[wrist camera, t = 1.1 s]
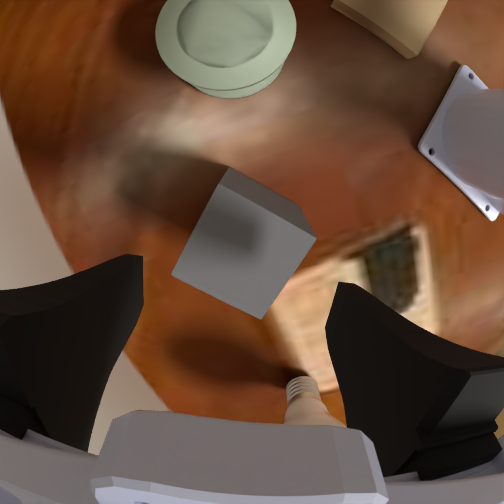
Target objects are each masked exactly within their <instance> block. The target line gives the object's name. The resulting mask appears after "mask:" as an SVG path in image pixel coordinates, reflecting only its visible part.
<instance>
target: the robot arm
mask: <svg viewBox="0 0 504 504" xmlns="http://www.w3.org/2000/svg"><path fill="white" fill-rule="evenodd" d="M469 75H470V76H471V79H470V78H469ZM430 148H431V149H432V153H431V155H430V154H429V149H430ZM418 149H419V151H420V153H422V154H423V155H424V156H425V157H426V158H427V159H428V160H430V161H431V162H432V163H433V164H434V165H435V166H436V167H437V168H438V169H439V170H441V171H442V172H443V173H444V174H445V175H446V176H447V177H448V178H449V179H450V180H451V181H452V182H453V183H454V184H455V185H456V186H457V187H458V188H459V189H460V190H461V191H462V192H463V193H464V194H465V195H466V196H467V197H468V198H469V199H470V200H471V201H472V202H473V203H474V204H475V205H476V206H477V207H478V208H479V209H480V210H481V212H482V213H483V214H484V215H485V216H486V217H487V218H488V219H489V220H491V221H494V220H495V219H496V218H497V216H498V214H499V212H500V213H502V214H504V89H488V88H487V86H486V85H485V84H484V83H483V82H482V81H481V80H480V79H479V78H478V76H477V75H476V74H475V73H474V72H473V71H472V70H471V69H470V68H469V67H468V66H466V65H462V66H460V67H459V69H458V71H457V73H456V75H455V77H454V79H453V81H452V83H451V85H450V87H449V89H448V91H447V93H446V95H445V96H444V98H443V100H442V102H441V104H440V106H439V108H438V109H437V111H436V113H435V115H434V117H433V119H432V120H431V122H430V124H429V126H428V128H427V129H426V131H425V133H424V135H423V136H422V138H421V140H420V142H419V144H418ZM486 206H487V208H486ZM485 208H486V210H485ZM143 305H144V298H143V256H138V255H132V254H125V255H122V256H119V257H116V258H113V259H111V260H108V261H106V262H104V263H101V264H99V265H96V266H94V267H92V268H89V269H87V270H84V271H81V272H79V273H76V274H73V275H71V276H68V277H65V278H62V279H59V280H55V281H52V282H48V283H44V284H40V285H34V286H29V287H24V288H18V289H9V290H0V504H504V435H502V436H501V437H500V438H498V439H497V438H496V436H495V434H494V433H493V432H496V430H497V429H498V425H497V424H496V422H495V419H496V417H497V416H498V415H499V413H500V412H501V411H502V409H503V408H504V357H500V356H495V355H491V354H487V353H482V352H479V351H476V350H472V349H469V348H466V347H463V346H460V345H458V344H455V343H453V342H450V341H448V340H446V339H443V338H441V337H439V336H437V335H434V334H432V333H430V332H429V331H427V330H425V329H423V328H421V327H419V326H417V325H416V324H414V323H412V322H411V321H409V320H408V319H406V318H404V317H403V316H401V315H400V314H398V313H397V312H395V311H394V310H392V309H391V308H390V307H388V306H387V305H385V304H384V303H383V302H381V301H380V300H378V299H377V298H376V297H374V296H373V295H371V294H370V293H369V292H367V291H366V290H364V289H363V288H361V287H360V286H358V285H356V284H354V283H345V282H338V286H337V289H336V293H335V296H334V299H333V303H332V306H331V309H330V313H329V316H328V319H327V322H326V326H325V331H326V339H327V345H328V350H329V354H330V357H331V361H332V364H333V367H334V371H335V374H336V377H337V381H338V384H339V388H340V391H341V394H342V399H343V403H344V409H345V416H346V423H347V428H344V427H337V426H331V425H289V424H269V423H255V422H244V421H233V420H224V419H216V418H208V417H201V416H195V415H188V414H182V413H176V412H171V411H148V410H147V411H146V410H135V411H131V412H129V413H127V414H125V415H122V416H120V417H117V418H115V419H113V420H112V422H111V425H110V427H109V430H108V433H107V435H106V438H105V441H104V443H103V446H102V448H101V451H100V454H99V455H94V454H91V453H88V447H89V442H90V438H91V433H92V429H93V426H94V422H95V418H96V414H97V411H98V408H99V405H100V401H101V398H102V395H103V392H104V389H105V386H106V384H107V381H108V378H109V375H110V373H111V371H112V369H113V367H114V365H115V363H116V361H117V359H118V357H119V355H120V354H121V352H122V350H123V348H124V346H125V344H126V343H127V341H128V339H129V337H130V335H131V333H132V331H133V330H134V328H135V326H136V324H137V321H138V318H139V316H140V313H141V310H142V307H143Z"/></svg>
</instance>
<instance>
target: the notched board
mask: <svg viewBox="0 0 504 504" xmlns="http://www.w3.org/2000/svg"><path fill="white" fill-rule="evenodd" d="M447 1H448V0H334V1H333V2H332V4H331V5H330V7H332V8H334V9H335V10H337V11H339V12H340V13H342V14H344V15H345V16H347V17H348V18H350V19H352V20H353V21H355V22H356V23H358V24H359V25H361V26H362V27H364V28H365V29H367V30H368V31H370V32H371V33H373V34H374V35H376V36H377V37H378V38H380V39H381V40H383V41H384V42H385V43H387V44H388V45H389V46H391V47H392V48H393V49H395V50H396V51H397V52H399V53H400V54H401V55H402V56H404V57H405V58H406V59H410V58H413V57H416V56H418V54H419V53H420V51H421V49H422V47H423V45H424V44H425V42H426V40H427V38H428V36H429V35H430V33H431V31H432V29H433V27H434V25H435V24H436V22H437V20H438V18H439V16H440V14H441V12H442V11H443V9H444V7H445V5H446V3H447Z"/></svg>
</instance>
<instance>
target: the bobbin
mask: <svg viewBox="0 0 504 504" xmlns="http://www.w3.org/2000/svg"><path fill="white" fill-rule="evenodd" d="M155 35H156V44H157V48H158V51H159V54H160V56H161V58H162V59H163V61H164V62H165V64H166V65H167V66H168V68H169V69H170V70H172V71H173V72H174V73H175V74H176V75H178V76H179V77H180V78H182V79H183V80H185V81H187V82H189V83H190V84H192V85H193V86H194V87H196V88H197V89H199V90H200V91H202V92H204V93H206V94H208V95H210V96H214V97H217V98H224V99H237V98H243V97H247V96H250V95H253V94H255V93H258V92H260V91H261V90H263V89H264V88H266V87H267V86H268V85H270V84H271V83H272V82H273V81H274V80H275V78H276V77H277V76H278V74H279V73H280V71H281V69H282V67H283V65H284V62H285V60H286V58H287V56H288V54H289V53H290V51H291V49H292V46H293V43H294V40H295V35H296V18H295V14H294V10H293V8H292V6H291V4H290V2H289V0H167V2H166V3H165V4H164V6H163V8H162V9H161V12H160V14H159V16H158V20H157V24H156V31H155Z"/></svg>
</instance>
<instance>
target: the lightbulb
mask: <svg viewBox="0 0 504 504" xmlns="http://www.w3.org/2000/svg"><path fill="white" fill-rule="evenodd" d="M286 393H287V401H288V402H287V403H288V408H287V410H286V413H285V417H284V422H283V424H289V425H331V426H337V427H344V428H347V426H346V425H344V424H343V423H342V422H341V421H339V420H338V419H336V418H335V417H333V416H331V415H330V414H329V412H328V410H327V408H326V406H325V405H324V404H323V403H322V402H321V399H320V394H319V389H318V384H317V381H316V380H315V379H314V378H312V377H308V376H300V377H296V378H294V379H292V380H291V381H290V382H289V383H288V384H287V386H286Z"/></svg>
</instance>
